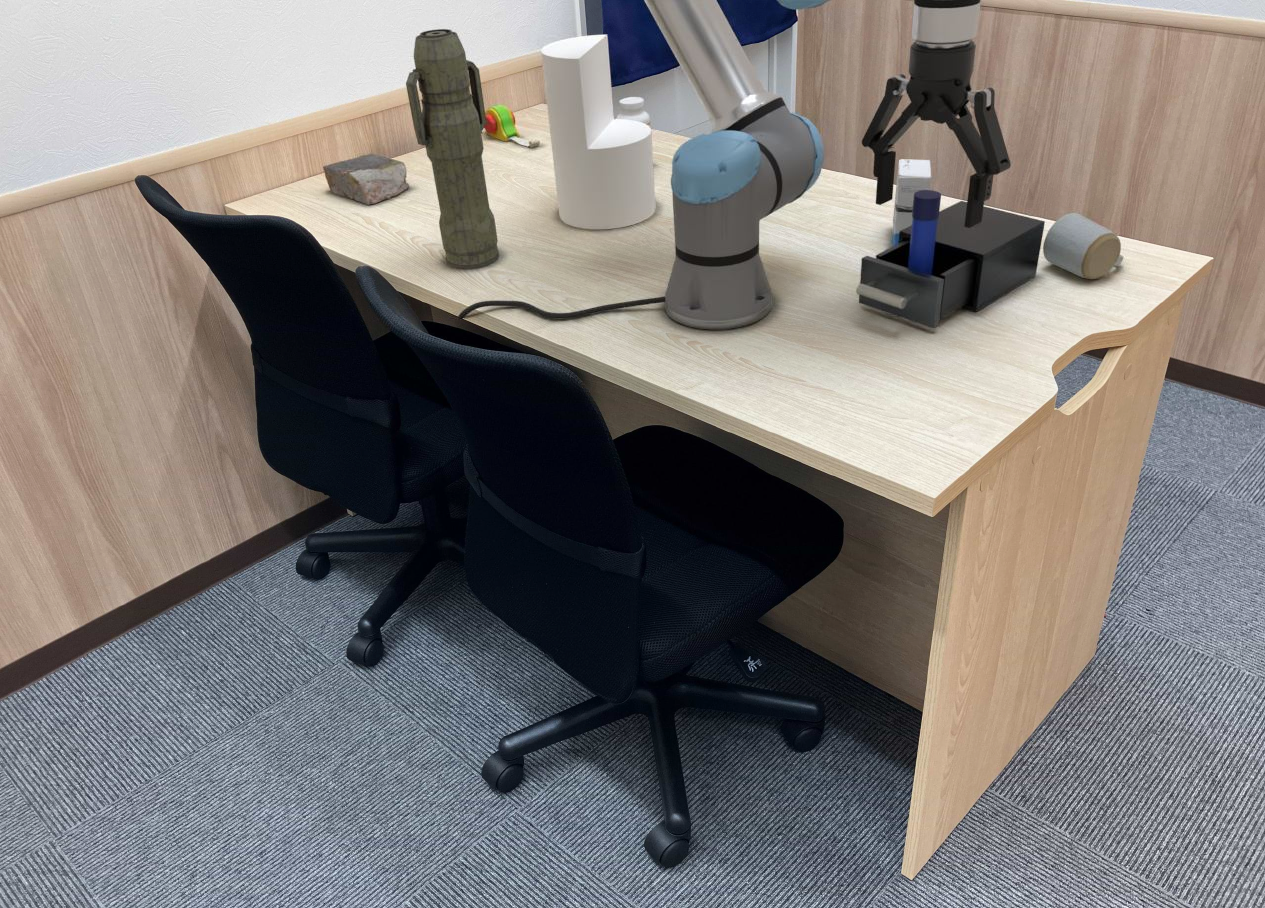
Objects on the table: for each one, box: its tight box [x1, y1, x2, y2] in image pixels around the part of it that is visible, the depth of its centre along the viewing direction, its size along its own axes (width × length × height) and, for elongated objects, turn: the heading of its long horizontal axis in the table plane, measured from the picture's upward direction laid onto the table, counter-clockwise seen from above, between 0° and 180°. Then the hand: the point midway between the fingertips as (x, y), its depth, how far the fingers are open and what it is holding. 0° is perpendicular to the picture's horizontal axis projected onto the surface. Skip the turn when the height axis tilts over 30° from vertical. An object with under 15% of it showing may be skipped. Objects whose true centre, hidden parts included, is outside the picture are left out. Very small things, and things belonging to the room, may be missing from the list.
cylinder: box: [540, 34, 657, 231], centre depth 170 cm, size 17×17×28 cm
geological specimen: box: [322, 153, 410, 206], centre depth 195 cm, size 11×6×15 cm
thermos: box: [405, 28, 500, 270], centre depth 154 cm, size 9×12×35 cm
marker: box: [908, 189, 942, 275], centre depth 133 cm, size 3×3×14 cm
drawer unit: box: [898, 200, 1046, 313], centre depth 142 cm, size 15×13×8 cm
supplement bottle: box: [615, 96, 651, 128], centre depth 194 cm, size 7×7×13 cm
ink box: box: [891, 158, 932, 247], centre depth 155 cm, size 8×5×12 cm, turn 168°
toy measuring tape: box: [484, 104, 541, 148], centre depth 217 cm, size 6×20×7 cm, turn 40°
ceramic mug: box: [1042, 212, 1125, 280], centre depth 143 cm, size 11×8×8 cm
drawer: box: [856, 239, 979, 330], centre depth 136 cm, size 19×12×7 cm, turn 132°
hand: (926, 212), depth 130 cm, fingers open, 13 cm apart
